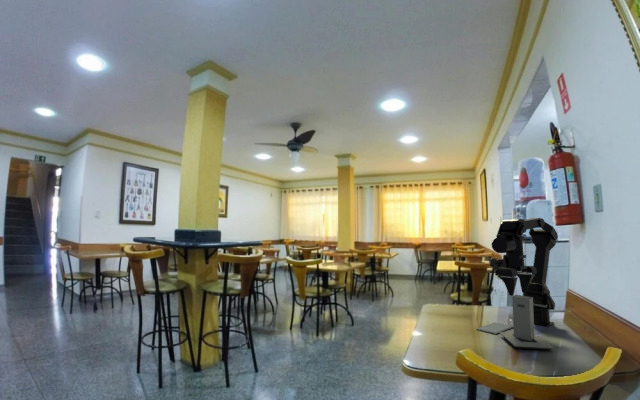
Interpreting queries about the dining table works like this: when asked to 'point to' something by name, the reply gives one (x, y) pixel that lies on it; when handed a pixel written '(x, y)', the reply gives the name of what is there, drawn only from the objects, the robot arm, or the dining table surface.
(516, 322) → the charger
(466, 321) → the dining table surface
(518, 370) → the dining table surface
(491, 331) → the plate
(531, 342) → the electrical outlet
